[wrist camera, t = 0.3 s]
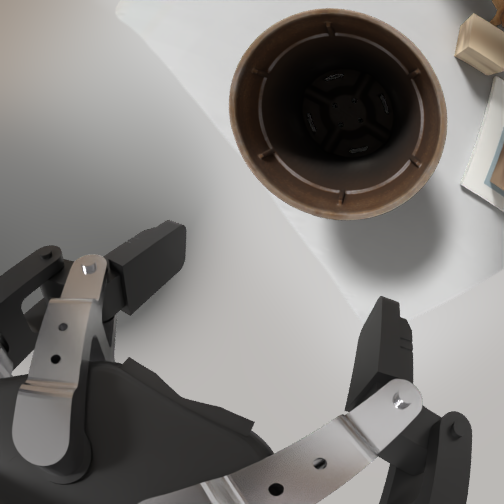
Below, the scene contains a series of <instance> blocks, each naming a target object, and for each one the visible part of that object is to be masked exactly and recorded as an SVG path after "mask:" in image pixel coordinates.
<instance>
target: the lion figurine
mask: <svg viewBox="0 0 504 504" xmlns="http://www.w3.org/2000/svg"><path fill="white" fill-rule="evenodd" d="M492 2H493V4H494V6H495V8H496V9H497V12H496V15H495V16H494V18H493V19H492V20H491V21H490V22H489V23H491V24H492V25H494V26H495V27H497V25H500V24H502V26H503V28H504V0H492Z"/></svg>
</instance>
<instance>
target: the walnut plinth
mask: <svg viewBox="0 0 504 504" xmlns="http://www.w3.org/2000/svg"><path fill="white" fill-rule="evenodd" d="M490 182H492V183H493V184H495V185H496V186H498V187H499V188H501V189H502V190H503V191H504V144H503V147H502V150H501V152H500V155H499V158H498V161H497V164H496V166H495V169H494V171H493V174H492V177H491V179H490Z"/></svg>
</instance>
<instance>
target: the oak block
mask: <svg viewBox="0 0 504 504" xmlns="http://www.w3.org/2000/svg"><path fill="white" fill-rule="evenodd" d="M454 56H455V57H457V58H459V59H460V60H462V61H464V62H466V63H467V64H469V65H471V66H472V67H474V68H476V69H477V70H479V71H481V72H482V73H484V74H485V75H487V76H488V75H491V74H495V73H499V72H502V71H504V32H503V31H501V30H500V29H499V28H497V27H495V26H494V25H492V24H491V23H489V22H488V21H486V20H484V19H483V18H481V17H480V16H478V15H476V14H474V13H473V14H472V15H471V16H470V17H469V18H468V19H467V20H466V21H465V22H464V23H463V24H462V25H461V26H460V30H459V36H458V41H457V46H456V51H455V55H454Z"/></svg>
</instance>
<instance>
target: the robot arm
mask: <svg viewBox="0 0 504 504" xmlns="http://www.w3.org/2000/svg"><path fill="white" fill-rule="evenodd" d="M185 249H186V227H185V226H184V225H182V224H179V223H176V222H173V221H170V220H167V221H165V222H164V223H162V224H160V225H159V226H157V227H156V228H151V229H147V230H144V231H142V232H141V233H139V234H137V235H136V236H135V237H134V238H131V239H130V240H128V242H125V243H123V244H122V245H120V246H119V247H117V248H116V249H114V250H113V251H111V252H110V253H108V254H107V255H105V256H104V257H102V256H99V255H94V254H91V255H85V256H83V257H80V258H78V259H77V260H76V261H75V262H74V261H69V260H65V259H63V256H62V251H61V249H60V248H59V247H57V246H45V247H42V248H40V249H38V250H36V251H35V252H34V253H32V254H31V255H29V256H28V257H26V258H25V259H23V260H22V261H20V262H19V263H18V264H16V265H15V266H14V267H12V268H11V269H9V270H8V271H7V272H5V273H4V274H3V275H1V276H0V504H316V503H318V502H319V501H321V500H322V499H324V498H325V497H327V496H328V495H330V494H331V493H332V492H334V491H335V490H337V489H338V488H339V487H341V486H342V485H344V484H345V483H346V482H348V481H349V480H350V479H351V478H353V477H354V476H355V475H357V474H358V473H359V472H360V471H361V470H363V469H364V468H365V467H366V466H367V465H369V464H370V463H371V462H372V461H373V460H374V459H375V458H377V456H379V457H381V458H382V459H384V460H385V461H387V462H389V463H390V467H389V471H388V475H387V478H386V482H385V486H384V489H383V493H382V496H381V499H380V503H379V504H466V501H467V495H468V487H469V478H470V468H471V467H470V466H471V451H472V429H471V425H470V423H469V421H468V420H467V418H466V417H465V416H464V415H463V414H461V413H459V412H455V411H454V412H449V413H447V414H446V415H444V416H443V417H442V418H441V417H440V416H438V415H436V414H435V413H433V412H431V411H430V410H428V409H427V408H425V407H424V406H423V401H422V396H421V393H420V391H419V390H418V389H417V387H416V386H415V385H414V384H413V353H412V350H413V345H412V330H411V328H410V326H409V324H408V322H407V320H406V319H404V318H401V317H400V308H399V302H396V301H394V300H391V299H388V298H385V297H382V296H380V297H379V299H378V300H377V302H376V304H375V306H374V308H373V310H372V311H371V313H370V315H369V317H368V319H367V320H366V322H365V324H364V326H363V328H362V330H361V333H360V336H359V340H358V346H357V351H356V357H355V363H354V368H353V374H352V379H351V384H350V388H349V394H348V398H347V402H346V407H345V411H348V412H349V413H348V414H346V415H340V416H338V417H336V418H335V419H333V420H332V421H330V422H329V423H327V424H326V425H324V426H322V427H321V428H319V429H317V430H316V431H314V432H312V433H311V434H309V435H308V436H306V437H304V438H302V439H301V440H299V441H297V442H295V443H294V444H292V445H290V446H288V447H286V448H284V449H283V450H281V451H279V452H277V453H275V454H274V453H273V451H272V450H271V448H270V447H269V446H268V445H267V444H266V442H265V441H264V440H263V439H262V438H260V437H259V436H258V435H257V434H256V433H254V432H253V431H251V429H252V427H253V425H254V422H253V421H251V420H248V419H246V418H244V417H241V416H239V415H236V414H234V413H232V412H230V411H228V410H225V409H223V408H221V407H217V406H213V405H209V404H204V403H200V402H196V401H192V400H189V399H185V398H182V397H181V396H179V395H178V394H177V393H176V392H175V391H174V390H173V389H172V388H170V387H169V386H168V385H167V384H166V383H165V382H164V381H163V380H162V379H161V378H160V377H159V376H158V375H157V374H156V373H154V372H153V371H151V370H149V369H147V368H146V367H144V366H142V365H141V364H139V363H137V362H136V361H134V360H133V359H131V358H130V357H129V358H128V359H127V360H126V361H125V362H124V363H123V364H121V363H116V362H115V359H114V350H115V337H116V326H117V314H116V313H117V312H119V311H120V310H122V311H123V312H125V313H127V314H128V315H132V314H133V313H134V312H135V311H136V310H137V309H138V308H139V307H140V306H141V305H142V304H143V303H145V302H146V301H147V300H148V299H149V298H150V297H151V296H152V295H153V294H154V293H156V291H158V290H159V289H160V288H161V287H162V286H163V285H164V284H165V283H166V282H168V281H169V280H170V279H171V278H172V277H173V276H174V275H175V274H177V273H178V272H179V271H180V270H181V268H182V266H183V264H184V261H185V251H186V250H185ZM39 286H40V288H41V291H42V294H43V296H44V298H43V299H42V300H40V301H39V302H38V303H37V304H36V305H34V306H33V307H32V308H31V309H30V310H29V311H28V312H26V313H25V314H23V312H22V310H21V304H22V302H23V300H24V298H26V297H27V296H28V295H29V294H31V293H32V292H33V291H34V290H36V289H37V288H38V287H39ZM33 350H34V353H33V357H32V361H31V365H30V370H29V374H26V375H20V376H14V377H13V376H12V375H11V373H12V371H13V370H14V369H15V368H16V367H17V366H18V365H19V364H20V363H21V362H22V361H23V360H24V359H25V358H26V357H27V356H28V354H30V353H31V352H32V351H33Z"/></svg>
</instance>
